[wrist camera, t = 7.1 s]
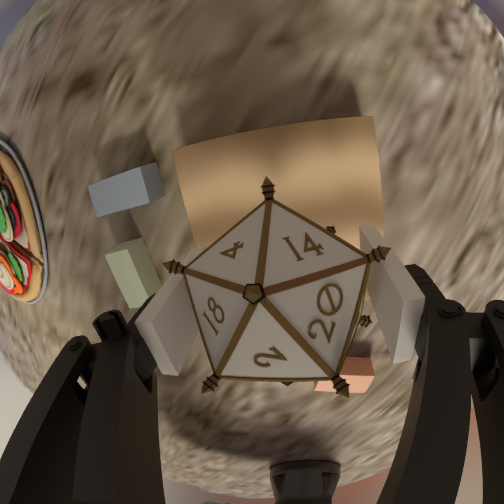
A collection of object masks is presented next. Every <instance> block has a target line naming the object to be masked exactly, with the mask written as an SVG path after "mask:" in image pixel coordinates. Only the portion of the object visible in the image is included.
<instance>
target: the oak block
mask: <svg viewBox="0 0 504 504" xmlns="http://www.w3.org/2000/svg"><path fill="white" fill-rule="evenodd" d="M171 152H172V156H173V160H174V164H175V169H176V173H177V177H178V181H179V185H180V189H181V193H182V197H183V201H184V204H185V208H186V212H187V216H188V220H189V223H190V227H191V231H192V234H193V238H194V241H195V245H196V247H200V246H206V248H207V247H209V246H210V245H211V244H212V243H213V242H215V241H216V240H217V239H218V238H219V237H221V236H222V235H223V234H224V233H225V232H227V231H228V230H229V229H230V228H231V227H233V226H234V225H235V224H236V223H237V222H239V221H240V220H241V219H242V218H243V217H245V216H246V215H247V214H248V213H249V212H251V211H252V210H253V209H254V208H256V207H257V206H258V205H259V204H261V203H262V202H263V201H264V200H265V197H264V195H263V194H262V192H263V191H262V187H260V186H262V184H263V182H264V179H265V177H266V176H267V177H268V178H269V180H270V181H271V182H272V183H273V184H274V185H275V186H274V191H276V192H274V196H273V198H274V200H276V201H278V202H280V203H282V204H283V205H285V206H287V207H289V208H291V209H292V210H294V211H296V212H298V213H299V214H301V215H303V216H305V217H306V218H308V219H310V220H311V221H313V222H315V223H317V224H318V225H320V226H322V227H323V228H325V229H326V227H327V226H334V227H335V231H336V233H335V235H337V236H338V237H340V238H341V239H343V240H345V241H346V242H348V243H350V244H351V245H353V246H354V247H356V248H358V249H359V250H360V237H359V226H364V225H372V224H373V225H374V226H375V228H376V229H377V230H378V231H379V233H380V234H381V235H382V237H383V238H384V229H383V203H382V188H381V176H380V166H379V157H378V148H377V141H376V134H375V127H374V121H373V116H363V117H347V118H336V119H325V120H316V121H308V122H300V123H293V124H286V125H280V126H274V127H268V128H262V129H257V130H252V131H246V132H242V133H237V134H232V135H228V136H223V137H219V138H215V139H210V140H206V141H202V142H199V143H195V144H191V145H187V146H184V147H180V148H177V149H173V150H171ZM368 300H371V299H370V296H369V294H368V291H367V289H366V294H365V299H364V301H368Z"/></svg>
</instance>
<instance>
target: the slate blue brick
mask: <svg viewBox="0 0 504 504" xmlns="http://www.w3.org/2000/svg"><path fill="white" fill-rule="evenodd" d="M88 190H89V193H90V197H91V200H92V203H93V207H94V210H95V213H96V216H97V218H98V217H101V216H105V215H108V214H112V213H115V212H119V211H122V210H126V209H130V208H133V207H137V206H141V205H145V204H149V203H151V202H153V201H155V200H156V199H158V198H160V197H162V196H164V195H165V193H164V189H163V185H162V182H161V178H160V174H159V170H158V166H157V162H154V163H151V164H147V165H144V166H140V167H137V168H134V169H132V170H129V171H126V172H123V173H120V174H118V175H115V176H112V177H109V178H107V179H104V180H102V181H99V182H97V183H94V184H92V185H89V186H88Z"/></svg>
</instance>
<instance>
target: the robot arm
mask: <svg viewBox="0 0 504 504" xmlns="http://www.w3.org/2000/svg"><path fill="white" fill-rule="evenodd" d="M359 237H360V250H361V251H362V252H364V253H366V254H369V253H370V252H371V251H372V249H373V248H374V249H376V248H378V245H380V246H381V247H389V248H391V247H390V246H389V244H388V243H387V242H386V240H385V239H384V238H383V237H382V235H381V234H380V233H379V231H378V230H377V229H376V228H375V226H374V225H373V224H372V225H364V226H359ZM205 249H206V246H200V247H193V248H192V249H191V250H190V252H189V253H188V254H187V255H186V257H185V258H184V259H183V260H182V262H181V263H180V264H182V265H183V266H186V265H188V264H189V263H190V262H191V261H192V260H193V259H195V258H196V257H197V256H198V255H199V254H200V253H202V252H203V251H204V250H205ZM385 259H386V260H385V261H384V260H381V261H380V263H378V262H373V263H371V266H370V272H369V278H368V283H367V291H368V294H369V296H370V299H371V301H372V304H373V307H374V309H375V312H376V315H377V318H378V320H379V323H380V326H381V329H382V332H383V335H384V338H385V341H386V344H387V347H388V350H389V353H390V356H391V359H392V363H393V364H394V363H399V362H404V361H409V360H412V358H413V354H414V350H416V352H417V355H418V357H419V358H418V361H417V365H416V368H415V371H414V374H413V377H412V379H414V382H413V388H412V393H411V398H410V402H409V407H408V411H407V416H406V420H405V423H404V427H403V431H402V435H401V438H400V442H399V445H398V448H397V451H396V454H395V457H394V460H393V463H392V466H391V469H390V472H389V475H388V478H387V480H386V482H385V485H384V487H383V490H382V492H381V494H380V497H379V499H378V501H377V504H455V500H456V496H457V493H458V489H459V485H460V481H461V476H462V472H463V467H464V462H465V456H466V449H467V442H468V433H469V425H470V412H471V395H472V399H473V404H474V409H475V414H476V420H477V426H478V432H479V439H480V448H481V458H482V474H483V504H504V301H503V300H493V301H490V302H489V303H488V304H486V308H485V311H484V313H469V312H466V310H465V308H464V307H463V306H462V305H461V304H460V303H458V302H456V301H454V300H449V299H446V298H445V297H444V296H443V294H442V293H441V291H440V290H439V289H438V287H437V286H436V285H435V283H433V281H432V279H431V278H430V277H429V275H428V274H427V273H426V272H425V270H424V269H422V268H421V267H419V266H417V265H416V264H412V265H405V266H404V265H403V264H402V262H401V261H400V259H399V258H398V257H397V255H396V254H395V252H394V251H393V250H392V248H391V249H390V251H389V253H388V254H387V256H386V258H385ZM92 324H93V326H94V328H95V329H96V331H97V333H98V335H99V336H100V338H101V340H102V341H101V343H96V344H91V343H90V341H89V340H88V338H87V337H86V336H83V335H81V336H76V337H73V338H72V339H71V340H70V341H68V342H67V343H66V345H65V346H64V347H63V349H62V350H61V352H60V353H59V355H58V356H57V358H56V359H55V361H54V362H53V364H52V365H51V367H50V369H49V370H48V372H47V373H46V375H45V376H44V378H43V380H42V381H41V383H40V385H39V386H38V388H37V390H36V391H35V393H34V395H33V397H32V398H31V400H30V402H29V403H28V405H27V407H26V409H25V410H24V412H23V414H22V416H21V418H20V420H19V422H18V424H17V425H16V428H15V429H14V431H13V433H12V435H11V437H10V440H9V442H8V444H7V446H6V448H5V450H4V453H3V455H2V457H1V459H0V504H165V497H164V490H163V481H162V471H161V460H160V448H159V432H158V406H157V377H156V375H155V373H154V372H153V371H154V369H155V367H156V365H157V366H158V367H159V369H160V371H161V372H162V374H165V375H176V376H179V374H180V372H181V369H182V367H183V365H184V363H185V360H186V358H187V356H188V354H189V352H190V349H191V347H192V345H193V343H194V341H195V338H196V336H197V334H198V332H199V328H198V325H197V321H196V318H195V315H194V312H193V308H192V305H191V301H190V298H189V294H188V291H187V287H186V284H185V280H184V277H183V275H182V274H176V275H175V273H172V274H171V275H170V277H169V278H168V279H167V280H166V282H165V283H164V284H163V285H162V287H161V288H160V289H159V291H158V292H157V293H154V294H153V295H152V296H150V297H149V298H148V299H146V301H145V302H144V303H143V305H142V307H140V308H139V310H138V312H136V314H135V315H134V316H133V317H132V319H131V320H130V321H129V323H128V324H127V323H126V321H125V319H124V317H123V315H122V313H121V312H120V311H119V310H111V311H107V312H105V313H103V314H101V315H99V316H98V317H97V318H96V319H95V320H94V322H93V323H92ZM79 376H80V377H81V378H82V380H83V381H84V382H85V384H86V385H87V386H86V387H85V389H83V388H82V387H81V386H80V385H79V383H78V382H77V380H78V378H79ZM339 478H340V466H339V465H337V464H335V463H332V462H326V461H294V462H287V463H282V464H279V465H276V466H274V467H272V468H271V472H270V481H271V485H272V489H273V493H274V497H275V504H332V496H333V494H334V491H335V489H336V486H337V484H338V481H339ZM203 504H229V503H220V502H214V501H207V502H204V503H203Z"/></svg>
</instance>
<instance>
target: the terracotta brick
mask: <svg viewBox="0 0 504 504" xmlns="http://www.w3.org/2000/svg"><path fill="white" fill-rule="evenodd" d="M339 375H340V377H341V378H343V379H346V382H347V384H350V385H349V392H357V393H365V392H366V390H367V389H368V387H369V385H370V384H371V382H372V380H373V378H374V377H375V375H374V370H373V366H372V362H371V358H362V357H346V359H345V362H344V364H343V367H342V369H341V371H340V374H339ZM314 391H329V392H336V390H335V389H333V383H332V381H314Z"/></svg>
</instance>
